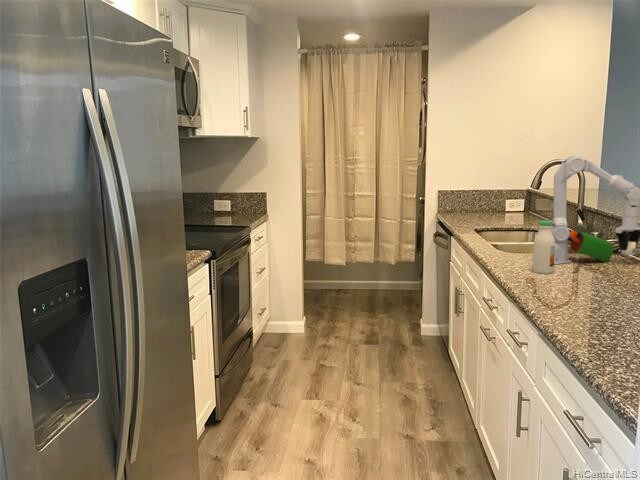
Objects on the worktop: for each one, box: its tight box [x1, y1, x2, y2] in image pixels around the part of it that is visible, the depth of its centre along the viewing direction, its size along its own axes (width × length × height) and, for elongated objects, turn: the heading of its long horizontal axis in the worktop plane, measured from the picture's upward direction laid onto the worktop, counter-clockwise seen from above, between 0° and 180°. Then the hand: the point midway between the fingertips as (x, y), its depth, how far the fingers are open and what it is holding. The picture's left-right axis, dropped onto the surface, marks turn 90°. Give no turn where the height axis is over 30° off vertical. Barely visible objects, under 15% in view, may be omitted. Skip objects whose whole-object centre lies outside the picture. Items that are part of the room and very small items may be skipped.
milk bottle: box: [531, 219, 555, 275], centre depth 207 cm, size 8×8×20 cm
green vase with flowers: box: [567, 229, 614, 263], centre depth 224 cm, size 10×9×20 cm
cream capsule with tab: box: [620, 241, 640, 256], centre depth 217 cm, size 5×7×5 cm
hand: (627, 249), depth 218 cm, fingers closed on cream capsule with tab, 5 cm apart
